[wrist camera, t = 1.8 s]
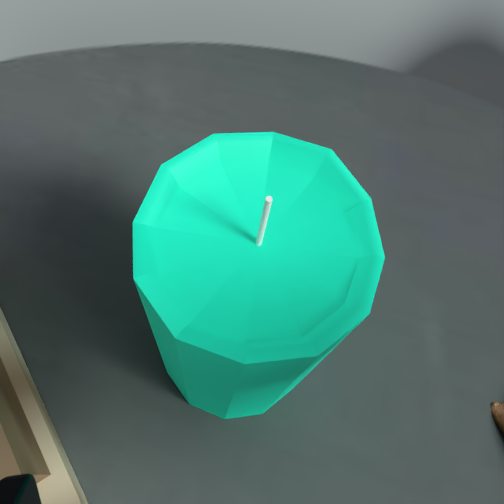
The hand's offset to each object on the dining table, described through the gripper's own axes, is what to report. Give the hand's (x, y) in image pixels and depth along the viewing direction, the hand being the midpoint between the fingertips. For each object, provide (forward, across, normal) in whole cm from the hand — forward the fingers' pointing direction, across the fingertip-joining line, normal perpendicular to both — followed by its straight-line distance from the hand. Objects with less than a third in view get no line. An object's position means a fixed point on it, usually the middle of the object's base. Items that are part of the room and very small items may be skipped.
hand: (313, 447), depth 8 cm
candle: (+12, 0, +5) cm, 13 cm away
